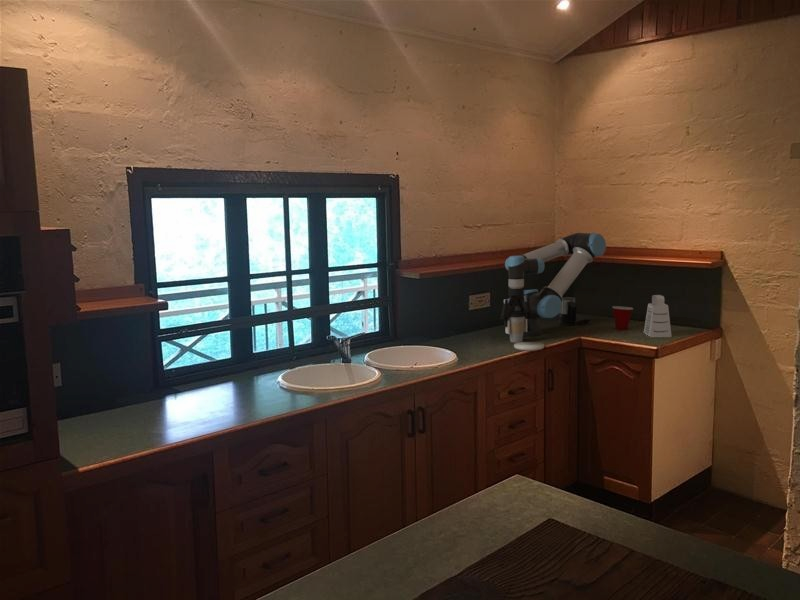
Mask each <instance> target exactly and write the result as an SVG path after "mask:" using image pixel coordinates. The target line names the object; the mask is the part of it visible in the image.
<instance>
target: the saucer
mask: <svg viewBox="0 0 800 600" xmlns="http://www.w3.org/2000/svg"><path fill="white" fill-rule="evenodd" d="M513 348H514V349H516V350H519V351H540V350H543V349H545V344H544V343H541V342H535V341H522V342H519V343H513Z"/></svg>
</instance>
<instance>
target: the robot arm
mask: <svg viewBox="0 0 800 600" xmlns="http://www.w3.org/2000/svg"><path fill="white" fill-rule="evenodd" d="M606 243H607V242H606V240H605V237H604V236H603V235H602V234H600V233H597V232H589V233H587V232H576V233H575V232H574V233H572V234H568V235H567V236H564V237H560V238H558V239H557V240H556V242H553V243H551V244H547V245H546V246H542V247H540V248H537V249H534V250H532V251H529V252H526V253H524V254H521V255H510V256H509V257H507V258H506V260H505V263H504V266H505V269H506V271H508V298H507V299H505V298H504V299H503V300H502V308H501V313H500V317H499V319H500V320H503V326H504V328H505V334H508V335H510V321H509V320H508V319H509V317H510V314H511V312H512V311H514V308H515V310H518V311H524V312H525V314H526V316H525V320H524V321H525V324H524V332H523V337H534V336H539V335H542V331H543V330H542V327H541V324H540V320H539V318H544V319H552V318H554V317H557V315H559V312H560V311H561V308H562V307H561V306H562V300H563V299H562V297H563V296H564V294H565V293H566V292H567V291H568V290H569V288H570V286H571V285H572V284H573V283H574V281H575V280H576V278H578V276H579V275H580V273H581V272H582V271H583V269H584V268H585V266H587V264H590V263H592V262H593V261H594V259H595V258H596V257H601V256H603V255H604V253H606V249H607V244H606ZM570 255H571V256H570ZM561 256H562V257H566V256H570V257H569V258H568V259H567V261H566V262H565V264H564V265H563V266H562V267H561V269H560V270H559V272H558V273H557V274H556V275H555V277H554V278H553V279H552V281H551V282H550V283H549V284H548V286H544V287H543V288H542V289H541V290H540V291H539V290H538V289H525V288H524V287H525V276H526V275H537V274H542V273H543V272H544V270H545V267H546V265H545V262H548V261H550V260H553V259H556V258H558V257H561Z"/></svg>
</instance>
